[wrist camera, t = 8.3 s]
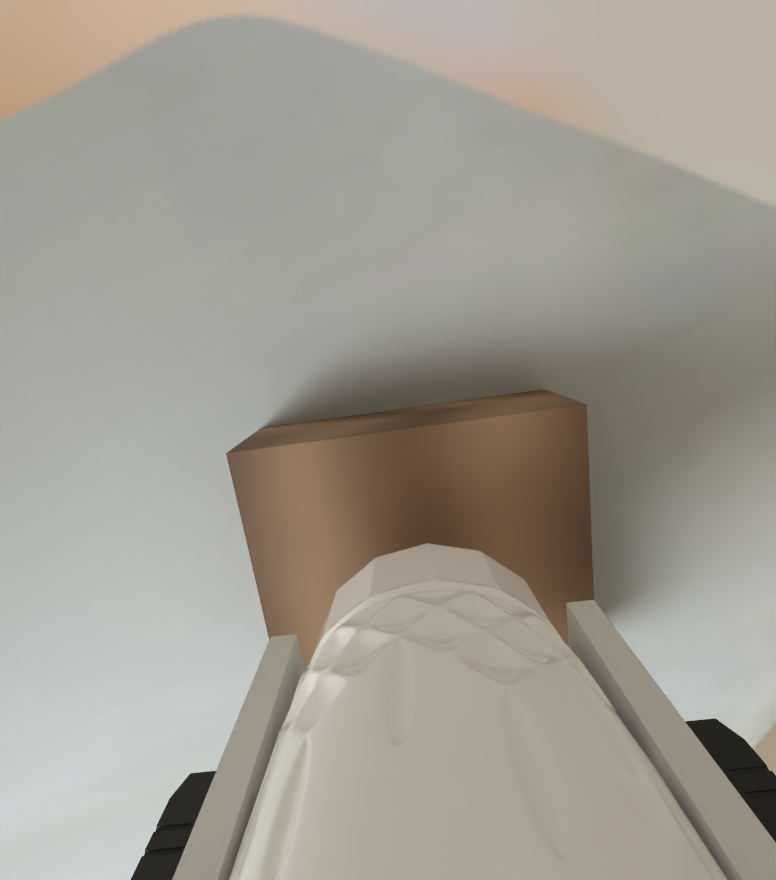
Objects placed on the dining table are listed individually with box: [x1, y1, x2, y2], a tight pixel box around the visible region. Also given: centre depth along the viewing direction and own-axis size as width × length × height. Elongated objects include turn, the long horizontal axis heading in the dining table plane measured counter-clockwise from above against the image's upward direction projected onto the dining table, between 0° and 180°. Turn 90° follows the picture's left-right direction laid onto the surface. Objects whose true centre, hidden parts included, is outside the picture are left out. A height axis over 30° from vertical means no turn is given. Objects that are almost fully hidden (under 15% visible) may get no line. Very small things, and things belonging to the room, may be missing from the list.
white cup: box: [228, 543, 728, 880], centre depth 9 cm, size 8×8×10 cm
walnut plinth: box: [226, 390, 594, 670], centre depth 18 cm, size 12×12×4 cm
